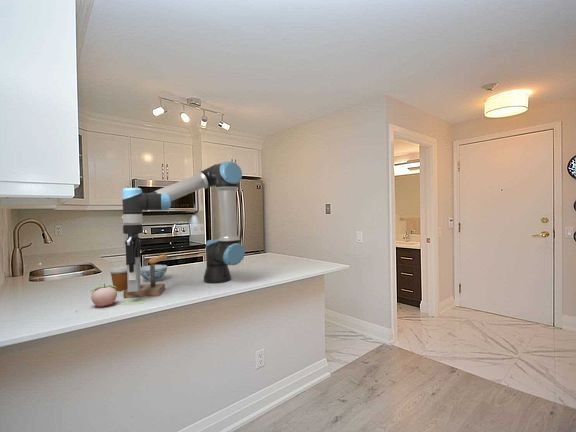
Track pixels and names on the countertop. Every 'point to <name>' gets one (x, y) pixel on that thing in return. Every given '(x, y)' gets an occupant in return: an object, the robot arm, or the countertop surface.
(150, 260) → the clip
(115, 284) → the disposable coffee cup
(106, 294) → the decorative fruit
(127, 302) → the mat
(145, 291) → the socket block
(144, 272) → the chinaware
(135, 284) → the gray square post
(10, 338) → the countertop surface
